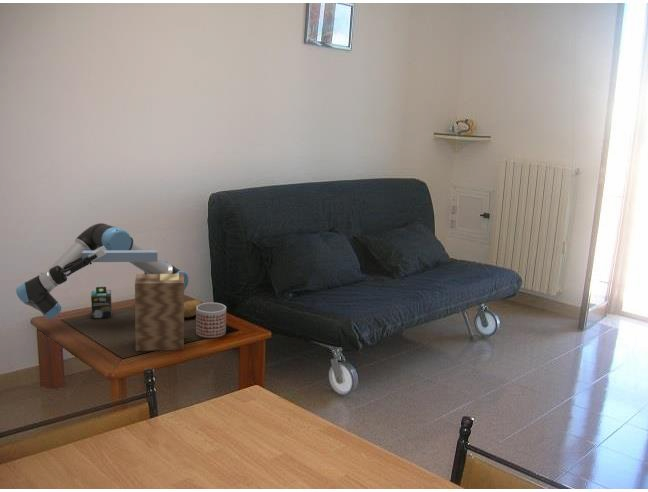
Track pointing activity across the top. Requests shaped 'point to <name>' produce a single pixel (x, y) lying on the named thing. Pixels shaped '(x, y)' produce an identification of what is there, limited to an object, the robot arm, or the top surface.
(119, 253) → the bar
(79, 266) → the robot arm
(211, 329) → the planter
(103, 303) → the chalk box
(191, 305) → the potato
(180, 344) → the stand
